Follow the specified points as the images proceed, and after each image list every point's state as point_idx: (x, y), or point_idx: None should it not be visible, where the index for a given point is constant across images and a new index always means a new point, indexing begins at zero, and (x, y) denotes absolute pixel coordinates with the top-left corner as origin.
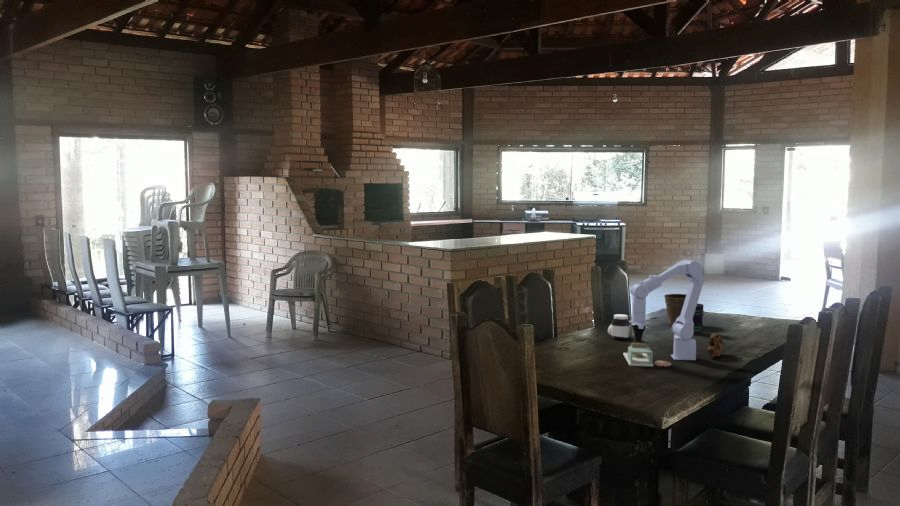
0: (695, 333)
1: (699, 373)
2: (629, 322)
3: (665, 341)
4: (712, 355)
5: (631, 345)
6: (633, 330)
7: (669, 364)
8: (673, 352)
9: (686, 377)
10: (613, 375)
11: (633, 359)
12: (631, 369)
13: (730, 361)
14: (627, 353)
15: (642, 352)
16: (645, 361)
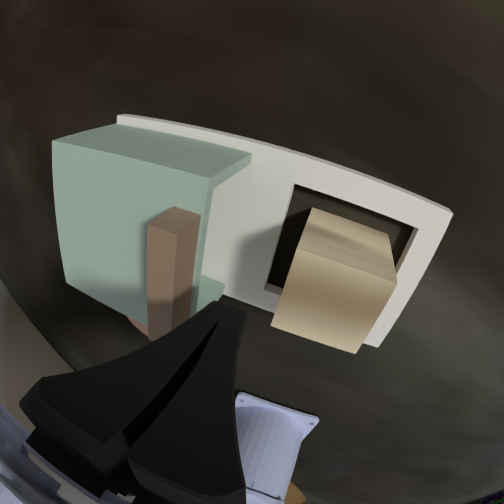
0: (485, 500)
1: (73, 335)
2: (11, 495)
3: (501, 457)
4: None
5: (392, 290)
6: (197, 414)
7: (128, 317)
8: (271, 426)
9: (29, 273)
10: (19, 22)
11: (223, 185)
12: (68, 107)
13: None
14: (420, 232)
15: (61, 221)
16: None
